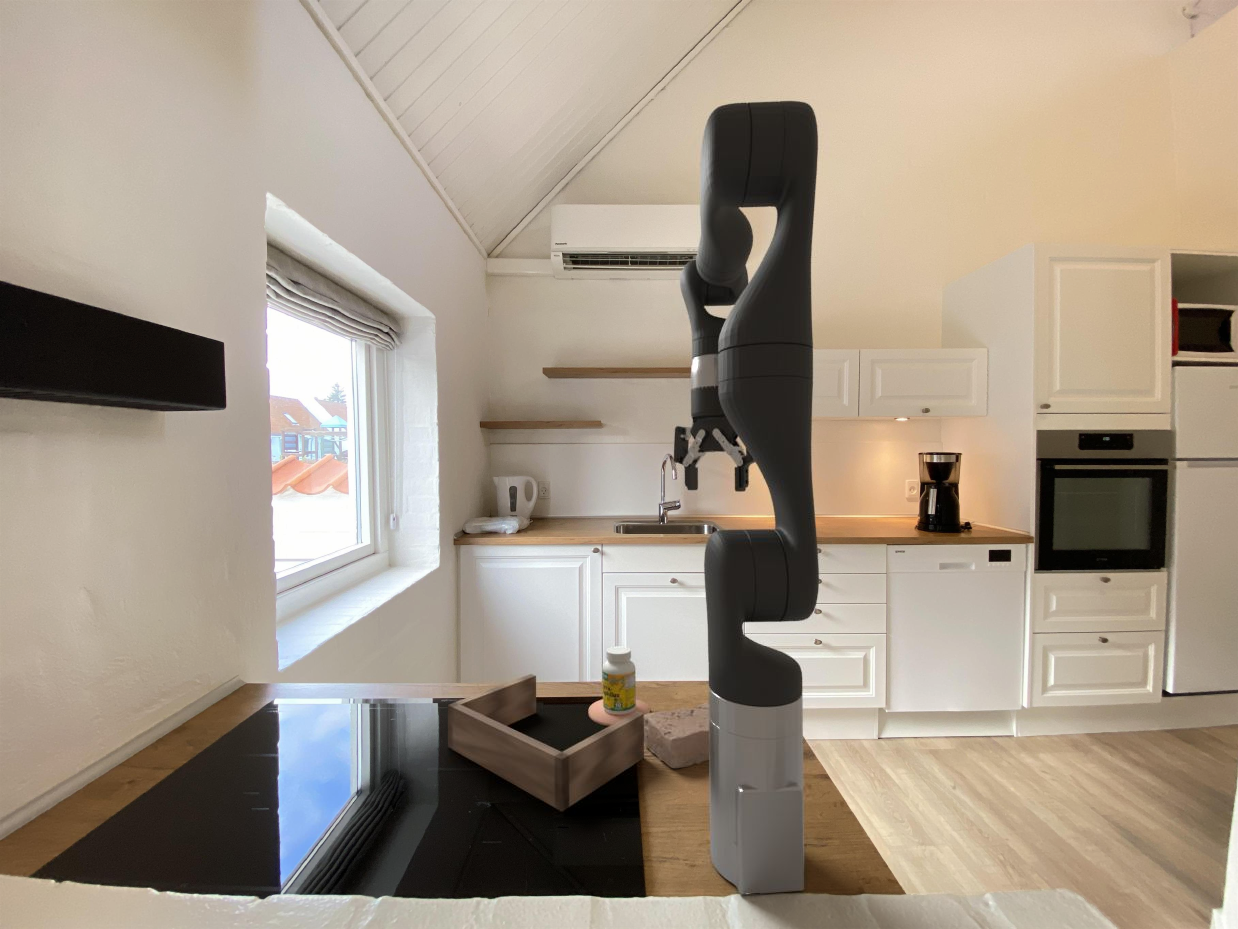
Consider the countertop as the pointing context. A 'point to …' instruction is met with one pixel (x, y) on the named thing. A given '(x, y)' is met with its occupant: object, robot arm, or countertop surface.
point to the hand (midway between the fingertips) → (715, 490)
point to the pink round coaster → (607, 719)
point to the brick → (679, 735)
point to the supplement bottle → (619, 682)
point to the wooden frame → (539, 745)
